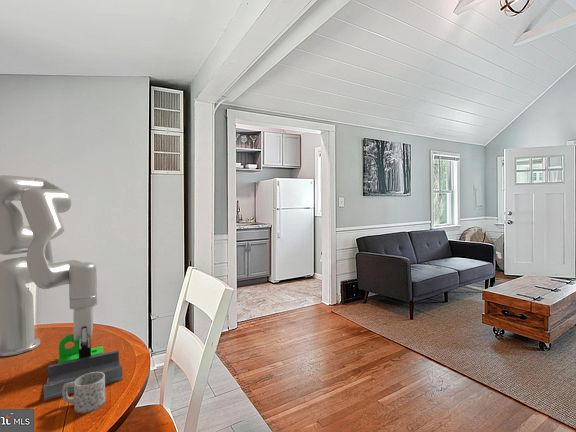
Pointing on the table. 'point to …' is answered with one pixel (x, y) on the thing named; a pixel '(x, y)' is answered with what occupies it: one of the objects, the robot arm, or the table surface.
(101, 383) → the mug
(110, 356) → the cradle
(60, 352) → the mechanical part
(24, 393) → the table surface
